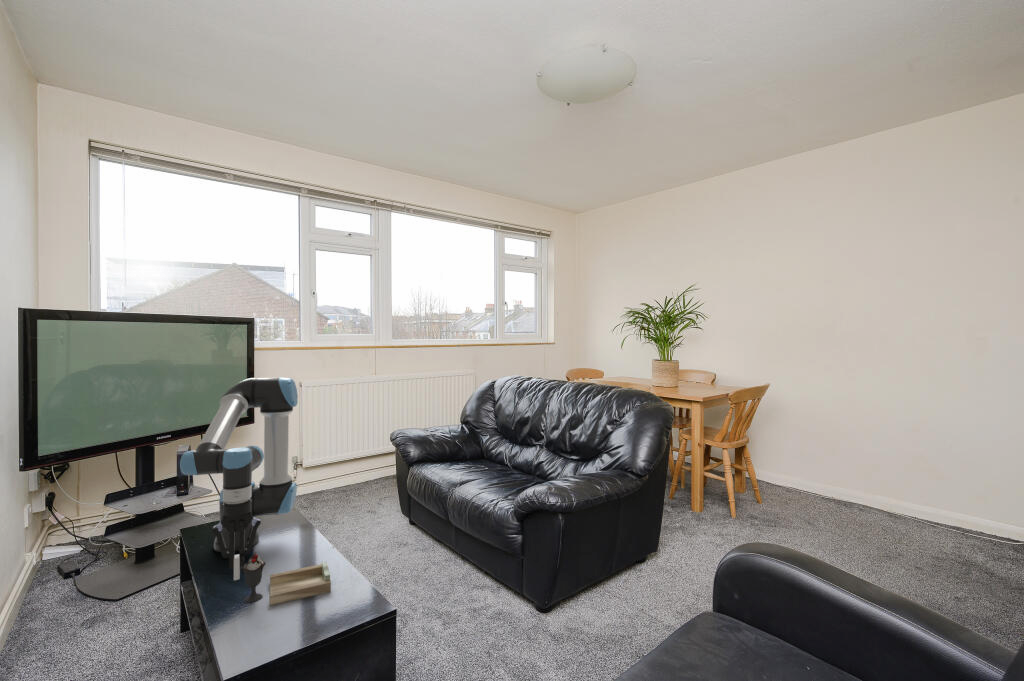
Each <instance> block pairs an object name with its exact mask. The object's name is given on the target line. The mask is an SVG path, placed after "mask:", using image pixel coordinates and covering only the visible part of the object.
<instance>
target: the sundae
mask: <svg viewBox="0 0 1024 681" xmlns="http://www.w3.org/2000/svg"><path fill="white" fill-rule="evenodd" d="M266 565H267V563H266V561H265V560H263V559H261V557H260V556H259V554H257V551H255V552H254V554H252V555H251V557H250V558H248V561H247V562H246V563H244V566H243V567H240V571H242V572H243V574H244V579H245V586H247V587H248V588H250V594H249V595H247V596H246V597H245V598H244V599H243V601H244V602H245V603H250V604H251V603H256V602H258V601H260V600H261V599H262V598H263V594H262V593H260V592H259V593H257V592H256V591H257V589H256V587H258V586H259V584H260V583H261V580H262V577H263V570H264V567H265V566H266Z"/></svg>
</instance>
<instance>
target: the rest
mask: <svg viewBox="0 0 1024 681" xmlns="http://www.w3.org/2000/svg"><path fill="white" fill-rule="evenodd" d="M269 582H270V583H269V606H270V607H272V606H276V605H280V604H281V605H282V604H285V603H290V602H293V601H297V600H301V599H306V598H310V597H314V596H319V595H322V594H327V593H331V592H332V589H331V588H332V581H331V573H330V570H329V565H328V562H327V561H322V562H321V563H320V564H315V565H310V566H306V567H302V568H297V569H292V570H287V571H282V572H277V573H273V574H270V575H269Z"/></svg>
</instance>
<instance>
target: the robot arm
mask: <svg viewBox="0 0 1024 681" xmlns="http://www.w3.org/2000/svg"><path fill="white" fill-rule="evenodd" d="M297 405H298V389H297V385H296V383H295V381H294V379H293V378H290V377H282V376H280V377H250V378H246V379H243V380H241V381H239V382H237V383H236V384H234V385H232V386H231V387H230V388H229V389H227V391H225V393H224V394H222V397H221V398H220V400H219V409H218V410H217V412H216V413H215V416H214V417H213V419H212V421H211V422H210V424H209V426H208V428H207V429H206V431H205V433H204V434H203V437H202V439H201V440H200V443H199V444H198V446H197V447H196V449H195V450H194V449H192V450H188V451H185V452H184V453H182V456H181V457H180V461H179V470H180V472H181V474H182V475H184V476H203V475H214V474H215V475H217V474H222V489H221V491H220V493H219V499H218V503H219V523H218V524H215V525H213V527H212V529H211V532H212V533H213V534H214V535H215V539H214V542H213V549H214V551H215V552H217V553H221V554H220V555H221V556H222V559H226V558H227V559H228V560H229V563H228V564H229V570H231V569H233V581H237V580H240V577H241V567H243V566H244V564H245V555H247V554H251V552H252V548H253V546H255V545H256V544H258V543H259V542H260V534H259V530H258V528H259V527H260V525H261V524H262V519H261V517H262V516H263V517H264V516H279V515H285V514H289V513H290V512H291V511H292V510H293V507H294V505H295V501H296V496H297V490H298V487H297V482H294V481H293V477H292V476H291V474H290V475H289V419H290V418H289V416H290V415H291V413H292V412H293V411H294V408H295V407H296V406H297ZM250 408H255V409H256V408H259V411H260V412H259V413H260V414H261V415H262V416H264V418H263V419H264V421H263V423H264V425H263V426H264V429H263V430H264V433H263V434H264V436H263V443H264V444H263V446H264V447H263V449H264V450H263V449H262V448H260V447H259V446H258V445H248V446H245V447H243V446H242V447H233V448H228V449H227V448H226V447H227V444H228V443H229V440H230V439H231V437H232V434H233V432H234V430H235V428H236V426H237V425H238V422H239V420H240V418H241V416H242V414H244V413H246V412H247V411H248V409H250ZM262 463H263V477H262V478H261V479H260V481H259V485H258V484H257V485H256V483H255V481H253V480H252V478H253V477H252V476H253V473H252V472H253V471H255V470H256V469H258V468H259V466H261V464H262ZM259 517H260V518H259ZM236 552H239V554H235V553H236Z"/></svg>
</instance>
